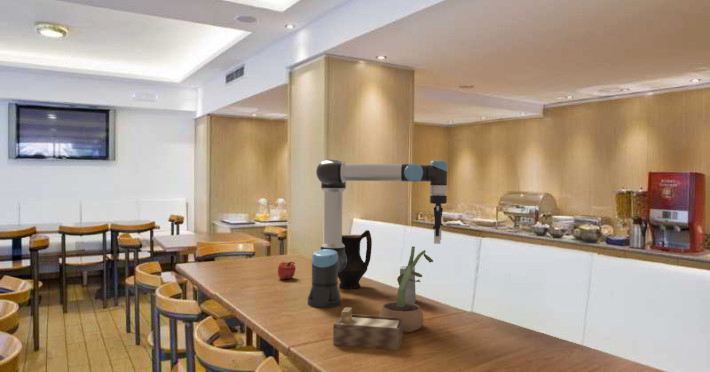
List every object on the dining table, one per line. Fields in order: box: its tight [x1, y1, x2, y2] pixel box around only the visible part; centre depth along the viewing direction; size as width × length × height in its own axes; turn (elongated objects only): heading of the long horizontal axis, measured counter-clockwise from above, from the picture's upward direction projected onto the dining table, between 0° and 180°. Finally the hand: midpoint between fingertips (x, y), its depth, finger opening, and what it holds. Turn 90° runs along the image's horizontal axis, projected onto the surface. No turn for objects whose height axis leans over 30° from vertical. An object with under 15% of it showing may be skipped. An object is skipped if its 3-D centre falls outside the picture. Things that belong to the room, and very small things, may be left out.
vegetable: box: [277, 261, 296, 280], centre depth 266 cm, size 11×10×10 cm
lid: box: [340, 306, 399, 328], centre depth 166 cm, size 19×10×5 cm, turn 78°
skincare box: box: [399, 265, 417, 304], centre depth 220 cm, size 8×7×16 cm
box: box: [332, 313, 403, 351], centre depth 166 cm, size 22×13×7 cm, turn 78°
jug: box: [338, 229, 373, 290], centre depth 247 cm, size 21×18×30 cm
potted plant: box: [378, 245, 434, 333], centre depth 184 cm, size 23×18×30 cm
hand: (437, 241), depth 217 cm, fingers open, 13 cm apart
